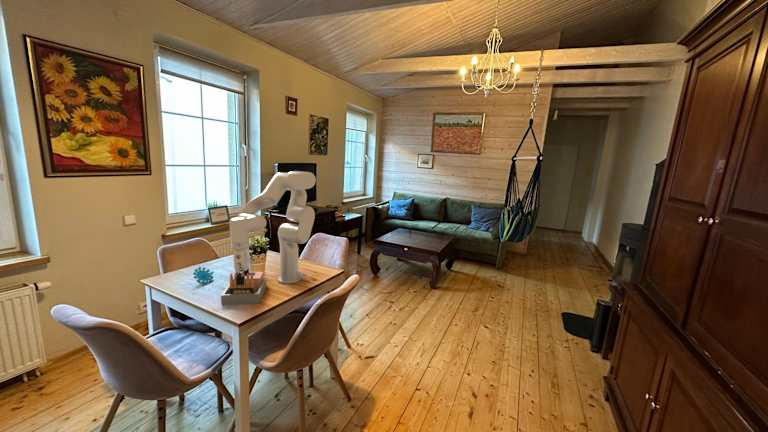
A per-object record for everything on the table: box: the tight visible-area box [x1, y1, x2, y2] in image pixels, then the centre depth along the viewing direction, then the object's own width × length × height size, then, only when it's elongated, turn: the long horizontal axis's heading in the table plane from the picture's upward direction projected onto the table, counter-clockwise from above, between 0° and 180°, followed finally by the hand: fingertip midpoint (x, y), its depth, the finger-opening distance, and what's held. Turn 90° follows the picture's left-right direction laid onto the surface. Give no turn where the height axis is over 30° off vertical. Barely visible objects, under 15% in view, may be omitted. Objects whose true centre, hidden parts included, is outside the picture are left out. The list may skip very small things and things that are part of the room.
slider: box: [232, 270, 264, 290], centre depth 153 cm, size 9×13×7 cm
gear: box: [192, 266, 215, 285], centre depth 161 cm, size 11×6×10 cm
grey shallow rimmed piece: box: [220, 276, 267, 306], centre depth 148 cm, size 20×16×4 cm
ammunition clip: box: [229, 272, 255, 294], centre depth 141 cm, size 11×2×12 cm, turn 101°
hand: (243, 280), depth 141 cm, fingers open, 9 cm apart
